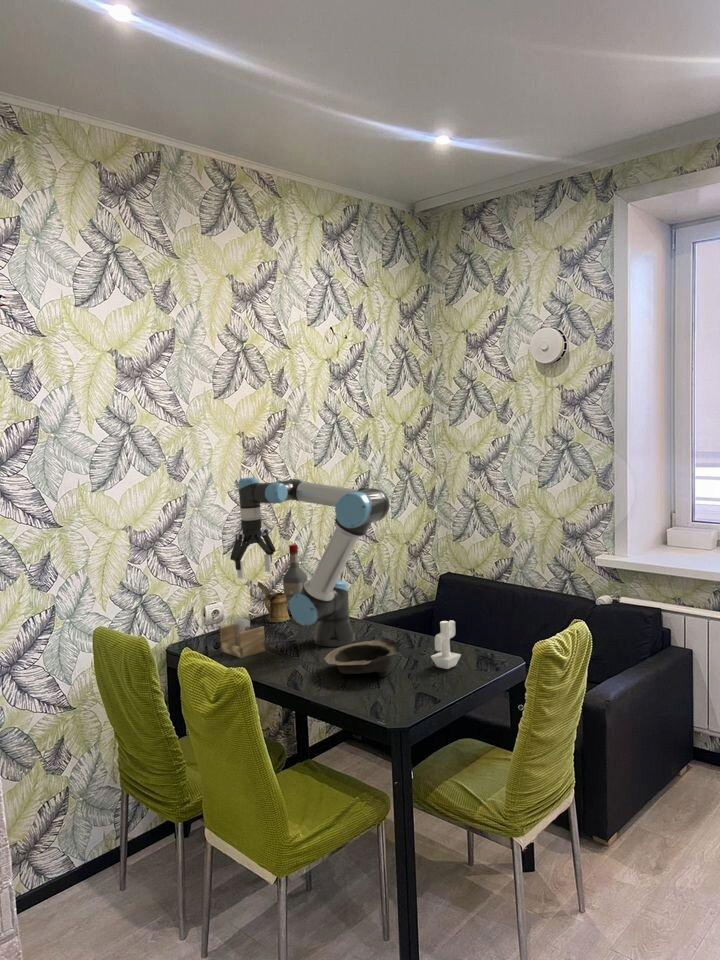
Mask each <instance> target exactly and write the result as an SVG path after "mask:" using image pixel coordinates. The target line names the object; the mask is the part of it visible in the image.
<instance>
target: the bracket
mask: <svg viewBox="0 0 720 960" xmlns="http://www.w3.org/2000/svg"><path fill="white" fill-rule="evenodd" d="M232 620H233V623H232V624H234V641H235V646H238V647H240V646H239V633H241V632H244V631H248V630H251V620H250V619H247V618H242V617H235V618H233V619H232Z"/></svg>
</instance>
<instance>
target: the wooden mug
mask: <svg viewBox="0 0 720 960" xmlns="http://www.w3.org/2000/svg"><path fill="white" fill-rule="evenodd" d="M257 587H258V588H259V589H260V590H261V591H262V592H263V593H264V594H265V595H264V600H263V604H264V606H265V608H266V610H267V611H268V619H267V621H268V622H269V623H271V622H273V624H279V622H282V623H285V622H284V621H286V622H288V621H289V620H290V619H291V618H290V616H289V615H288V611H287V605H286V597H285V594H284V592H273V593H271V592H270V589H268V587H267V586H266V585H264V584H263V583H261V581H258V582H257ZM287 620H288V621H287ZM274 622H275V623H274Z"/></svg>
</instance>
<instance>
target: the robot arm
mask: <svg viewBox="0 0 720 960" xmlns="http://www.w3.org/2000/svg"><path fill="white" fill-rule="evenodd" d="M259 481H260V480H259V478H258V477H243V478H242V477H241V478H240V479H239V480H238V489H237V490H238V491H237V492H238V497H239V511H240V519H241V521H240V524H241V525H240V526H241V530H242V533H236V534H235V542H234V544H233V548H232V552H231V554H230V557H229V558H230V561H233V562H234V564H235V571H236V573H237V578H238V579H241V580H242V579H243V580H244V579H245V575H244V562H243V560H242V559H243V557H244V555H245V553H246V551H247V549H248V547H249V546H250V545H255V544H258V546H259V547H260V548H261V549H262V550H263V552H264V553H265V554H264V568H265V569H264V571H265V572H267V573H271V572H273V571H272V562H273V557H272V556H273V555H274V553H275V552H277V550H276V548H275V545H274V544H273V541H272V540H271V537H270V536H269V530H268V528H267V529H265V528H262V527H263V526H262V519H261V517H262V512H261V504H274V505H275V504H276V505H277V504H282V503H284V502H286V501H298V502H304V503H309V504H314V505H315V504H316V505H321V506H326V507H328V506H329V507H333V508H334V513H335V519H334V523H335V525H336V528H335V529H334V530H333V533H332V536H331V538H330V539H329V541H328V544H327V546H326V548H325V550H324V552H323V554H322V556H321V558H320V560H319V562H318V564H317V566H316V569H315V570H314V572H313V574H312V577H311V578H310V579H307V581H306V582H305V583H304V585H303V587H302V589H301V591H300V593H299V594H296V595H295V596H293V597H292V598H291V600H290V604H289V608H290V611H291V615H292V616H291V617H292V618H293V620H294V621H295V622H296V623H298V624H299V625H300V626H301V625H302V626H310V625H314V624H316V623H317V627H316V630H315V634H314V643H315V645H318V646H321V647H329V648H331V647H332V648H334V647H335V648H336V647H342V646H346V645H349V644H354V642H355V641H356V635H355V634H356V633H355V631H354V630H353V629H354V628H353V626H352V624H351V620H350V609H349V607H350V606H349V587H348V583H347V582H346V581H345V580H340V579H339V578H340V577H341V574H342V572H343V570H344V569H345V566H346V564H347V562H348V560H349V558H350V556H351V554H352V552H353V550H354V549H355V547H356V545H357V543H358V540H359V539H360V537H365V536H366V534H367V532H368V531H369V529H370V526H371V524H372V523H376V522H378V521H381V520H383V519H384V518H385V517H386V516H387V515H388V513H389V510H390V507H391V505H390V499H389V497H388V496H387V494H386V493H385V492H384V491H383V490H381V489H379V488H370V487H369V488H368V487H359V488H358V489H355V488H349V487H344V486H343V487H341V486H334V485H330V484H322V483H321V484H320V483H315V482H308V481H304V480H302V479H300V478H292V479H287V480H281V481H274V482H259Z"/></svg>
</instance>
